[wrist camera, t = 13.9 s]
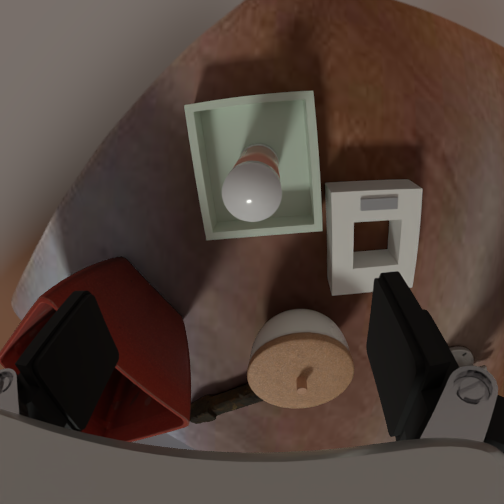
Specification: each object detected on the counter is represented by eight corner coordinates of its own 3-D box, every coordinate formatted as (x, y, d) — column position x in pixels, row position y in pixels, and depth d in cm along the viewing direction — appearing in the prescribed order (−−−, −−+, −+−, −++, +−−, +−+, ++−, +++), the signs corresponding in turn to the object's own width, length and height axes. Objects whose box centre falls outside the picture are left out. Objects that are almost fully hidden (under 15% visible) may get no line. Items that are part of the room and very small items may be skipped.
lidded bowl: (295, 273, 39) (302, 332, 29) (360, 324, 42) (378, 383, 32) (233, 332, 44) (223, 393, 34) (298, 372, 47) (301, 430, 37)
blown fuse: (276, 141, 31) (278, 161, 21) (280, 179, 33) (284, 219, 22) (236, 145, 32) (217, 168, 21) (241, 183, 34) (226, 224, 23)
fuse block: (408, 179, 33) (423, 189, 29) (401, 270, 38) (413, 288, 34) (324, 182, 34) (331, 193, 30) (327, 277, 39) (332, 297, 35)
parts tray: (308, 92, 30) (313, 90, 26) (317, 217, 36) (322, 231, 32) (193, 104, 31) (184, 105, 27) (212, 226, 37) (206, 240, 33)
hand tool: (275, 365, 47) (274, 388, 43) (287, 380, 48) (287, 402, 44) (180, 395, 52) (175, 415, 48) (194, 408, 53) (189, 427, 49)
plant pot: (53, 290, 43) (-7, 359, 28) (119, 219, 37) (42, 293, 22) (135, 369, 49) (102, 449, 34) (217, 323, 43) (194, 424, 28)
